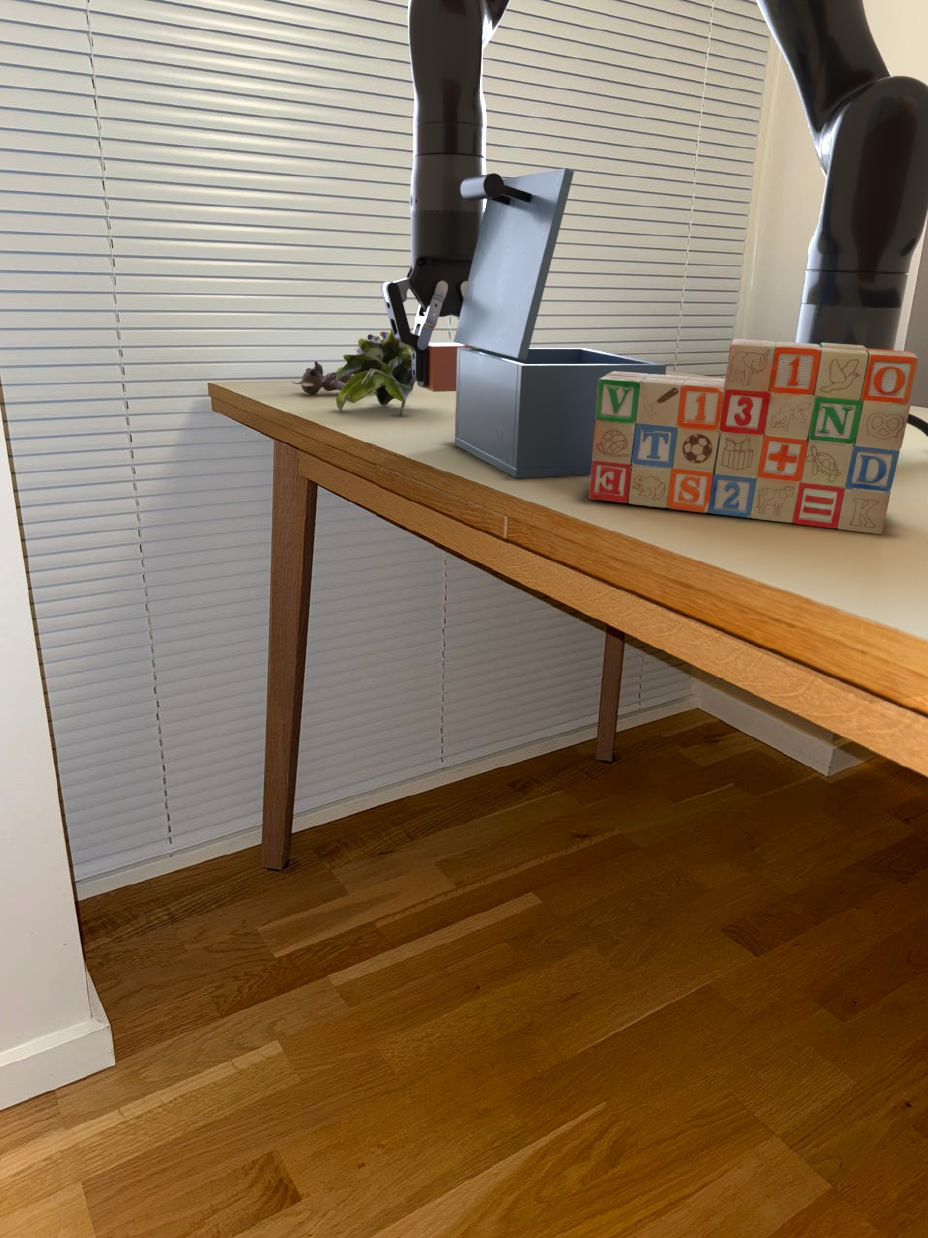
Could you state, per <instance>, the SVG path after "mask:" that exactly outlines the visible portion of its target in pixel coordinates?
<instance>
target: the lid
mask: <svg viewBox="0 0 928 1238" xmlns="http://www.w3.org/2000/svg"><path fill="white" fill-rule="evenodd" d="M574 174H575V170H574V169H570V168H567V167H564V168H558V169H554V170H547V171H542V172H536V173H535V172H534V173H529V174H523V175H518V176H513V177H507V178H503V177H502V176H501V175H500V174H498V173H495V172H493V173H486V175H481V176H476V177H471V178H467V179H465V180H464V181H463V182H462V184H461V194H462V196H463V197H464V198H465V199H466V200H468V201H474V200H482V199H487V201H486V206H485V210H484V214H483V219H482V223H481V227H480V231H479V236H478V240H477V244H476V249H475V253H474V257H473V262H472V266H471V270H470V274H469V279H468V283H467V287H466V292H465V296H464V300H463V305H462V309H461V313H460V317H459V322H458V321H457V327H456V331H455V335H454V340H453V343H460V344H464V345H467V346H471V347H475V348H479V349H483V350H487V351H491V352H494V353H498V354H502V355H506V356H510V357H514V358H517V359H521V360H526V359H527V355H528V351H529V348H531V347H530V346H531V343H532V338H533V334H534V330H535V327H536V323H537V319H538V315H539V312H540V307H541V304H542V299H543V296H544V291H545V288H546V284H547V280H548V276H549V273H550V269H551V265H552V264H551V263H552V261H553V257H554V252H555V248H556V244H557V241H558V236H559V234H560V229H561V225H562V222H563V218H564V213H565V210H566V206H567V201H568V197H569V194H570V190H571V185H572V182H573V178H574Z"/></svg>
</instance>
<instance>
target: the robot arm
mask: <svg viewBox="0 0 928 1238" xmlns="http://www.w3.org/2000/svg"><path fill="white" fill-rule="evenodd" d="M755 1H756V4H757V6H758V8H759V9H760V12H761V14H762V16H763V19H764V20H765V23H766V25H767V27H768V28H769V31H770V33H771V34H772V36H773V38H774V40H775V42H776V44H777V47H778V48H779V49H780V52H781V53H782V56H783V57H784V59H785V61H786V64H787V66H788V68H789V71H790V73H791V75H792V78H793V81H794V83H795V87H796V89H797V92H798V95H799V99H800V102H801V105H802V108H803V110H804V111H803V113H804V115H805V118H806V122H807V126H808V128H809V132H810V135H811V138H812V139H811V140H812V142H813V145H814V150H815V153H816V156H817V160H818V163H819V166H820V168H821V171H822V173H823V175H824V177H825V179H826V181H825V186H824V191H823V198H822V203H821V209H820V213H819V218H818V222H817V225H816V227H815V231H814V234H813V236H812V238H811V241H810V243H809V246H808V252H807V258H806V263H805V271H804V276H803V283H802V291H801V296H800V304H799V311H798V315H797V316H798V317H797V324H796V328H795V329H796V330H795V336H794V342H793V343H809V344H818V345H820V343H834V344H848V345H862V346H864V347H865V348H868V349H881V350H895V347H896V341H897V337H898V330H899V325H900V320H901V316H902V310H903V309H902V308H903V304H904V300H905V299H904V298H905V293H906V288H907V283H908V279H909V278H908V277H909V272H910V269H911V263H912V260H913V255H914V253H915V251H916V248H917V246H918V245H919V242H920V240H921V238H922V235H923V232H924V228H925V225H926V221H927V217H928V85H927V83H925V82H923V81H922V80H920V79H918V78H915V77H912V76H907V75H891V73H890V71H889V69H888V67H887V65H886V63H885V60H884V59H883V56H882V54H881V52H880V50H879V48H878V46H877V44H876V41H875V38H874V36H873V34H872V31H871V29H870V25H869V23H868V18H867V16H866V10H865V5H864V0H755ZM510 3H511V0H408V6H407V7H408V8H407V33H408V47H409V48H408V49H409V58H410V68H411V78H412V85H413V94H414V110H413V126H412V131H413V132H412V133H413V134H412V135H413V143H412V149H413V158H412V159H413V161H412V169H411V170H412V171H411V178H410V195H409V206H410V268H409V270H408V272H407V274H406V277H405V278H402V279H399V280H395V281H384V282H382V283H381V285H380V291H381V294H382V295H381V296H382V299H383V303H384V306H385V310H386V313H387V316H388V317H387V318H388V321H389V325H390V327H391V329H392V332H393V335H394V338H395V340H396V341H399V342H401V343H404V344H407V345H409V346H410V348H411V350H412V377H413V380H415V382H416V384H417V386H418V387H420V388H423V387H429V374H430V351H429V350H427V347H428V345H429V343H431V338H432V335H433V333H434V332H433V331H434V329H435V328H436V326H437V324H438V320H439V318H444V317H448V316H451V317H456V319H457V323H458V322H459V317H460V313H461V309H462V305H463V300H464V296H465V292H466V287H467V283H468V279H469V274H470V270H471V266H472V262H473V257H474V253H475V249H476V244H477V240H478V236H479V231H480V227H481V223H482V219H483V214H484V210H485V206H486V201H487V199H482V200H474V201H468V200H466V199H465V198H464V197H463V196H462V194H461V184H462V182H463V181H464V180H465V179H467V178H471V177H476V176H481V175H486V174H487V165H486V164H487V162H486V155H487V154H486V151H487V149H486V147H487V146H486V145H487V109H486V101H485V97H484V93H483V63H484V62H483V56H484V49H485V47H486V46H487V45H488V43H489V42H490V40H491V39H492V37H493V36H494V33H495V32H496V30H497V29H498V26H499V25H500V23H501V21H502V19H503V17H504V15H505V13H506V11H507V9H508V6H509V5H510ZM409 290H410V292H411V293H412V295H413V296H414V298H415V300H416V301H417V302H418V309H417V312H416V315H415V319H414V328H413V331H411V328H410V324H409V320H408V316H407V312H406V309H405V305H404V303H405V302H406V301H407V299H408V291H409ZM907 424H908V425H910V426H912V427H914V428H916V429H918V430H919V431H921V432H922V433H923V434H924V435H925V436H926V437H927V438H928V421H925V420H923V419H922V418H920V417H918V416H916V415H915V414H911V413H909V416H908V420H907Z"/></svg>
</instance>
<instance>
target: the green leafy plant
mask: <svg viewBox="0 0 928 1238" xmlns="http://www.w3.org/2000/svg"><path fill="white" fill-rule="evenodd" d="M379 335H380V336H381V337H380V336H378V335H373V334H372V333H371V334H370V333H369V334H368V335H367V338H362V337H360V338H358V340H357V346H358V347H357V348H356V349H355V348H354V351H356V354H343V355H342V358H343V359H344V361H345V362H346V363H345V364H344V365H343V366H340V367H337V369H336V372H337V371H338V374H337V376H336V381H338V380H339V379H341V378H342V377H343V376H348V375H353V376H352V378H351V379H350V380H349V381H348V382H347V383H346V384H345V386H343V388H342V389H341V391H340V390H339V393H338V395H337V398H336V401H335V404H336V407H337V409H338V411H339V412H340V413H341V412H342V411H343V408H344V406H345V404H346V403H347V401H348V402H350V403H351V404H356V403H357V402H358V401H360V400H362V399H364V398H366V397H367V396H368V395H370V394H372V393H373V392H375V396H376V399H377V400H376V401H377V402H378V403H379V405H381V406H382V407H383V406H387V405H389V404H390V402H392V400H395V399H396V400H397V401H400V402H401V406H400V411H399V415H398V416H400V417H402V415H403V411H404V409H405V406H406V403H407V400H408V398H409V395H410V393H411V392H412V391H413V390H414V385H415V383H416V381H415V380H413V377H412V350H411V348H410V346H409V345H407V344H404V343H401V342H399V341H396V340H395V338H394V335H393V332H392V328H391V329H390V330H389V332H388V331H380V332H379Z"/></svg>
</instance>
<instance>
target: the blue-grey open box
mask: <svg viewBox="0 0 928 1238" xmlns="http://www.w3.org/2000/svg"><path fill="white" fill-rule="evenodd" d="M613 371H618V372H632V373H644V374H659V375H667V373H666V372H667V364H664V363H659V362H653V361H650V360H645V359H639V358H635V357H629V356H625V355H619V354H615V353H609V352H604V351H600V350H595V349H590V348H586V347H529V351H528V355H527V359H526V360H521V359H517V358H514V357H510V356H506V355H502V354H498V353H494V352H491V351H487V350H483V349H479V348H457V379H456V391H455V412H454V413H455V416H454V418H455V419H454V445H455V446H456V447H458V448H460V449H462V450H464V451H466V452H467V453H469V454H471V455H473V456H474V457H477V458H478V459H480V460H481V461H484V462H485V463H488V465H491V466H493V467H495V468H497V469H498V470H500V471H502V472H503V473H505V474H507V475H509V476H510V477H513V478H515V479H528V478H550V477H570V476H572V477H573V476H591V468H592V461H593V460H592V451H593V441H594V431H595V424H596V419H595V415H596V403H597V391H598V381H599V379H600V378H602V377H604V376H606V374H609V373H611V372H613Z"/></svg>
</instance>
